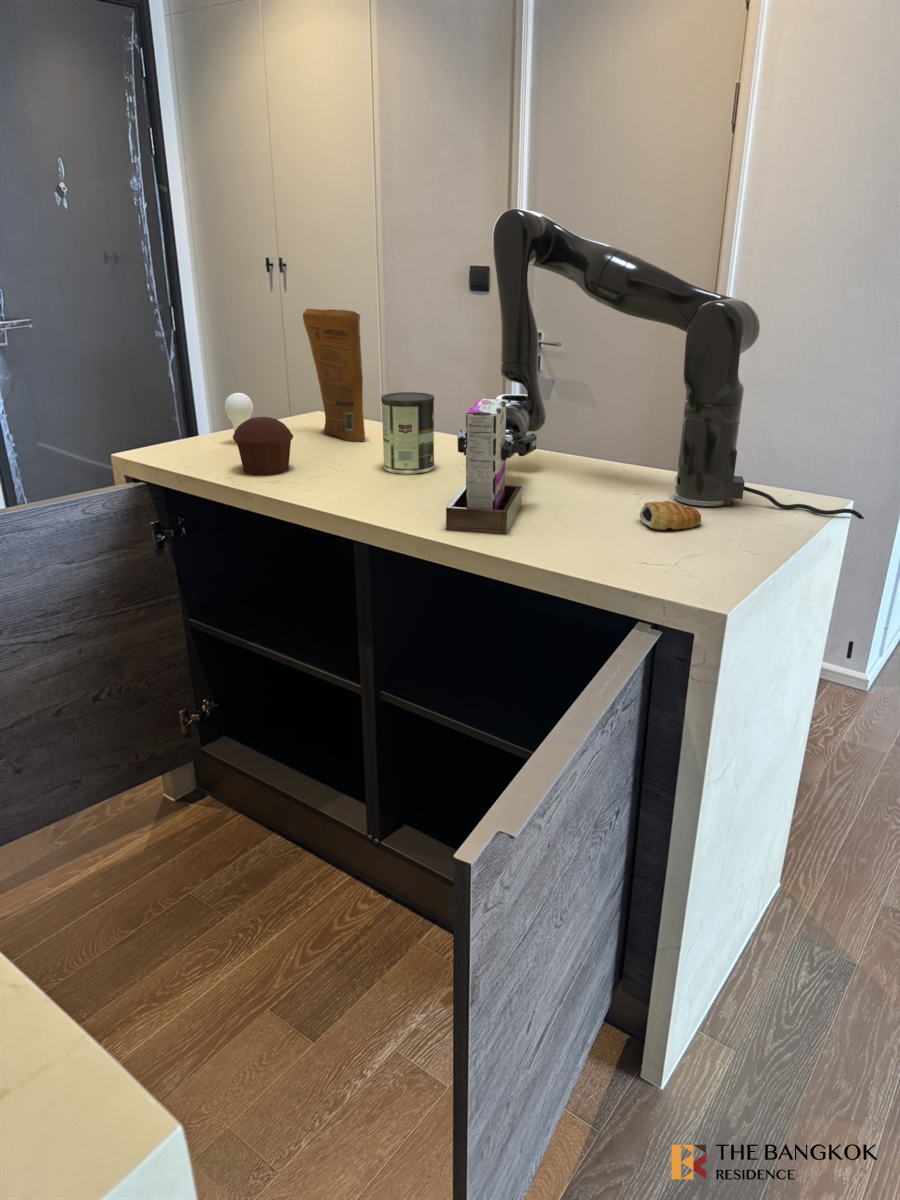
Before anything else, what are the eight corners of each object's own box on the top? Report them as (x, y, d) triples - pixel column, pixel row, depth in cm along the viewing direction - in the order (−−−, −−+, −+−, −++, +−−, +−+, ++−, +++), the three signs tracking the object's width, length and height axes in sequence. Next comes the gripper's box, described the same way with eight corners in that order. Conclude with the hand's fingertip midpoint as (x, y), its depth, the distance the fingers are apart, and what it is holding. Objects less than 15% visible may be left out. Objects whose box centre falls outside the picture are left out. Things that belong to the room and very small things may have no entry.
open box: (521, 506, 147) (522, 485, 146) (506, 534, 133) (507, 511, 132) (466, 502, 149) (466, 482, 148) (445, 529, 135) (446, 507, 134)
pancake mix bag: (352, 445, 190) (346, 312, 179) (306, 431, 203) (299, 306, 193) (377, 441, 194) (373, 310, 183) (331, 427, 207) (324, 305, 197)
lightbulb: (261, 442, 193) (257, 392, 188) (242, 447, 188) (237, 396, 184) (242, 438, 196) (237, 389, 191) (222, 443, 191) (217, 393, 187)
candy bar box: (475, 495, 146) (477, 397, 140) (505, 497, 145) (508, 399, 139) (463, 515, 136) (464, 411, 129) (494, 517, 135) (497, 412, 129)
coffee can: (424, 460, 178) (423, 390, 172) (442, 471, 169) (442, 398, 163) (376, 464, 174) (374, 393, 169) (392, 476, 165) (390, 402, 160)
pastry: (689, 517, 142) (692, 494, 140) (708, 530, 136) (711, 506, 134) (635, 520, 140) (637, 497, 139) (652, 533, 134) (654, 509, 132)
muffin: (306, 465, 173) (303, 415, 169) (276, 479, 163) (272, 426, 159) (255, 460, 177) (251, 411, 173) (223, 473, 167) (218, 421, 163)
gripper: (464, 407, 152) (442, 427, 137) (545, 411, 149) (531, 432, 134) (464, 449, 155) (442, 473, 140) (543, 454, 152) (529, 479, 137)
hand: (486, 453), depth 137 cm, fingers closed on candy bar box, 5 cm apart
